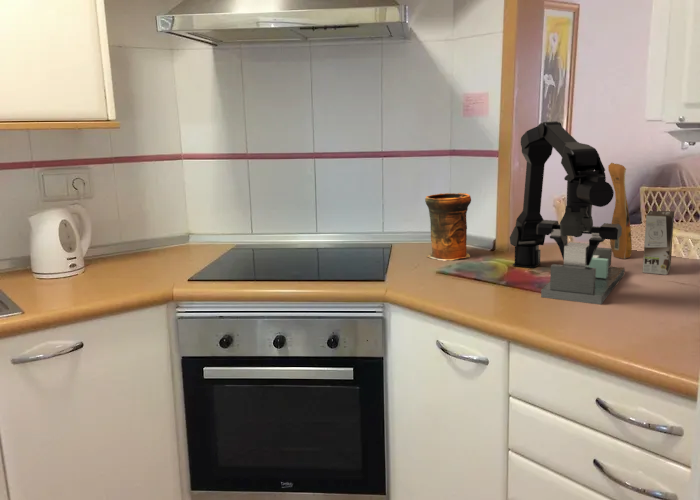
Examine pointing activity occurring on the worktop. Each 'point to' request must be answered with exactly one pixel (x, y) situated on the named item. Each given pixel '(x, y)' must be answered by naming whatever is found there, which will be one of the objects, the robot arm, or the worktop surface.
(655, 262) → the coffee box
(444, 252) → the vessel
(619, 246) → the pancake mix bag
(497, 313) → the worktop surface
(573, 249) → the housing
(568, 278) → the press
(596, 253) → the ram
